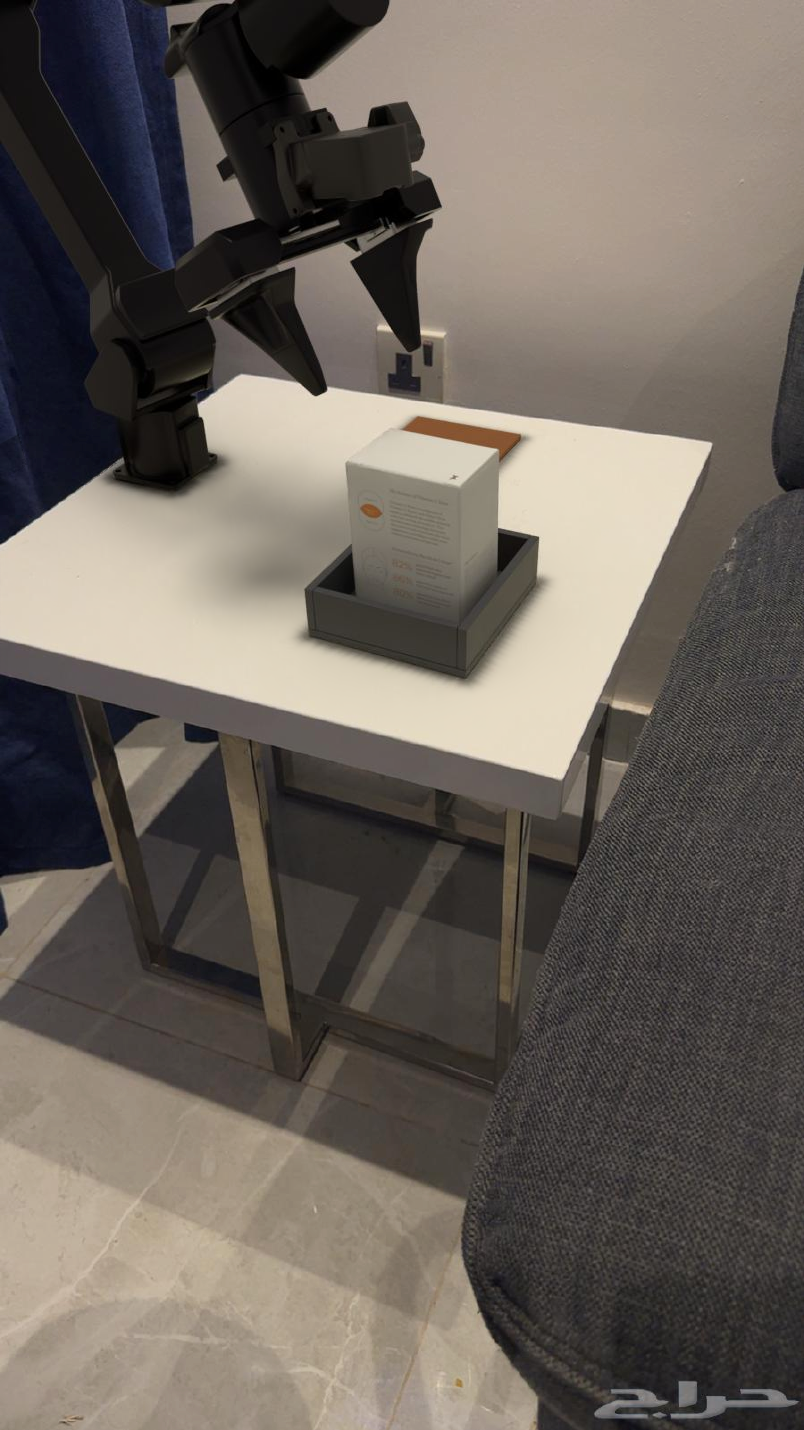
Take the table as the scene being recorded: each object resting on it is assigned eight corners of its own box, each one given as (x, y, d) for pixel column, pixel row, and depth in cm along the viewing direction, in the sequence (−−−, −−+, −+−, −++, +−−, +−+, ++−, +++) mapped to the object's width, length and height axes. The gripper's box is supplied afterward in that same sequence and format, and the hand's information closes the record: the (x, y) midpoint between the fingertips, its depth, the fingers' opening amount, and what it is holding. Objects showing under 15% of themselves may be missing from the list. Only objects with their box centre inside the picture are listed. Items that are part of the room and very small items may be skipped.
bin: (308, 635, 67) (303, 588, 65) (393, 548, 76) (391, 504, 73) (465, 678, 63) (466, 630, 61) (536, 582, 72) (539, 536, 69)
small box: (498, 595, 69) (503, 448, 63) (460, 637, 66) (462, 486, 59) (395, 566, 73) (389, 424, 66) (353, 605, 69) (343, 458, 62)
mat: (371, 460, 87) (371, 455, 87) (417, 420, 93) (417, 415, 93) (480, 482, 84) (480, 477, 83) (520, 438, 90) (521, 434, 90)
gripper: (218, 71, 50) (352, 380, 55) (451, 29, 61) (546, 289, 66) (115, 172, 58) (238, 432, 63) (336, 118, 69) (427, 344, 74)
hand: (370, 371), depth 66 cm, fingers open, 9 cm apart
